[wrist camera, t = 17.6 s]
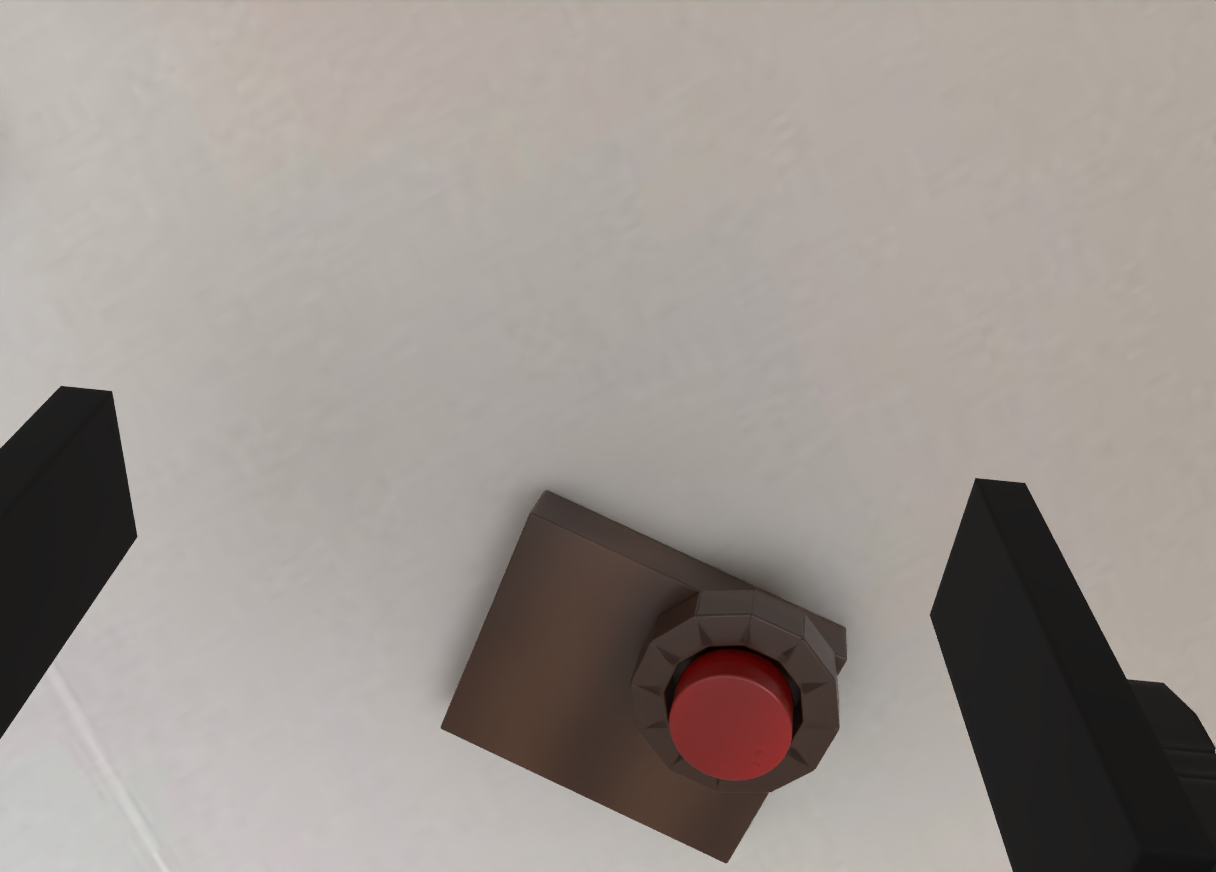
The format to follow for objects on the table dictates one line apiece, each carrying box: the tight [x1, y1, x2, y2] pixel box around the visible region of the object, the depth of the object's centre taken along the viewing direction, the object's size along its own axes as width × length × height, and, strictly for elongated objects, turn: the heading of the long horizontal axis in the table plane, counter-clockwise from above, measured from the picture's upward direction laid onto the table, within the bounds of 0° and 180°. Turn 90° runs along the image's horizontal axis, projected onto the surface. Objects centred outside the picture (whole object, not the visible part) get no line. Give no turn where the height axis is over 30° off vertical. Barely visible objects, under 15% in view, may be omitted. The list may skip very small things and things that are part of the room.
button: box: [669, 649, 794, 781], centre depth 36 cm, size 4×4×2 cm
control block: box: [441, 491, 847, 863], centre depth 39 cm, size 12×11×4 cm
